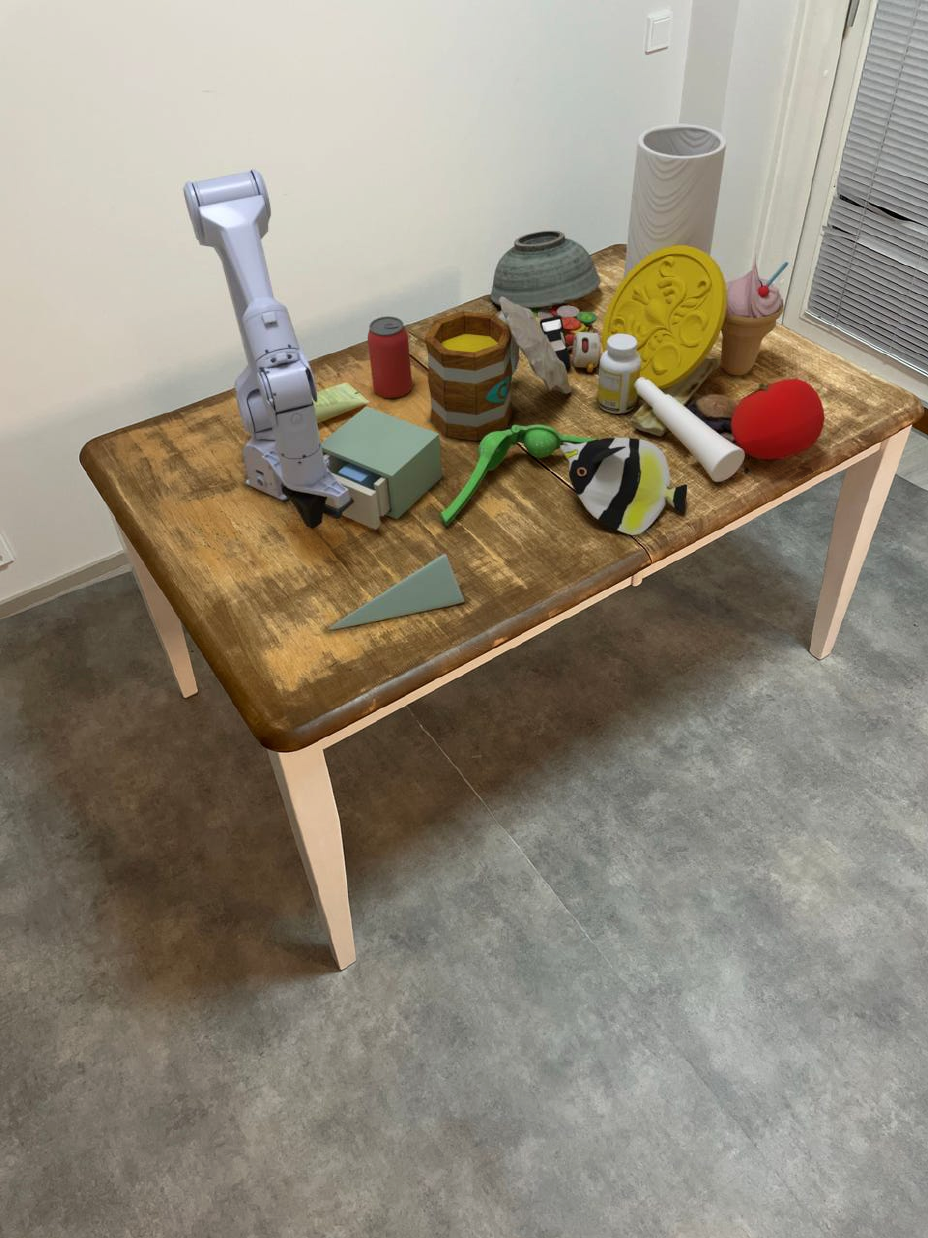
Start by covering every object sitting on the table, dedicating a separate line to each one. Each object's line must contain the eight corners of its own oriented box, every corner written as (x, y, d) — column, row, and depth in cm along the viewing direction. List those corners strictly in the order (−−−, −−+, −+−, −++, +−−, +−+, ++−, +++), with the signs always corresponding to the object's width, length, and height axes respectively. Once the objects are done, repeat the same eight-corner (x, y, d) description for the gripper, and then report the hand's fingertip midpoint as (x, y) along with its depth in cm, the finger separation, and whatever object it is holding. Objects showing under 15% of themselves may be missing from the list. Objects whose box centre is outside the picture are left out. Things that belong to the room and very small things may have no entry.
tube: (260, 453, 156) (361, 412, 164) (267, 443, 151) (371, 401, 160) (243, 421, 155) (346, 382, 164) (250, 410, 151) (355, 370, 159)
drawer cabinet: (396, 519, 141) (391, 476, 136) (325, 488, 147) (317, 445, 141) (442, 477, 148) (439, 433, 142) (371, 448, 153) (366, 405, 147)
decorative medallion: (648, 420, 158) (640, 417, 157) (585, 332, 170) (578, 328, 169) (754, 305, 146) (747, 300, 144) (678, 219, 158) (671, 214, 157)
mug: (480, 451, 152) (477, 367, 141) (413, 422, 157) (406, 340, 147) (550, 392, 162) (553, 309, 151) (485, 367, 168) (483, 286, 157)
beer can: (411, 399, 162) (405, 335, 154) (372, 400, 163) (364, 336, 154) (413, 377, 167) (407, 313, 158) (375, 378, 167) (367, 314, 158)
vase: (657, 292, 183) (678, 115, 160) (716, 321, 175) (747, 139, 152) (603, 319, 177) (617, 139, 154) (662, 350, 169) (685, 166, 146)
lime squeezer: (446, 528, 140) (443, 494, 135) (413, 482, 147) (410, 448, 142) (645, 461, 148) (649, 427, 144) (605, 421, 156) (608, 387, 151)
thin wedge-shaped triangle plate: (352, 665, 122) (471, 593, 125) (326, 622, 123) (444, 552, 126) (353, 672, 130) (465, 605, 133) (329, 633, 131) (440, 566, 134)
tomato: (848, 441, 140) (826, 364, 137) (758, 476, 140) (734, 401, 138) (814, 436, 152) (793, 365, 149) (731, 468, 152) (709, 399, 150)
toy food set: (505, 340, 174) (504, 323, 171) (544, 308, 181) (544, 291, 178) (568, 362, 168) (569, 345, 166) (607, 328, 175) (608, 311, 173)
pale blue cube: (364, 504, 141) (360, 481, 138) (341, 494, 143) (337, 471, 140) (381, 488, 143) (378, 465, 140) (359, 479, 145) (356, 456, 142)
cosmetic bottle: (743, 441, 140) (650, 359, 151) (709, 467, 140) (620, 383, 152) (747, 464, 145) (657, 382, 157) (715, 489, 145) (627, 405, 157)
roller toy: (595, 355, 170) (600, 325, 166) (600, 375, 165) (605, 344, 161) (570, 355, 170) (574, 324, 165) (574, 374, 165) (578, 344, 161)
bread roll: (673, 421, 155) (675, 401, 153) (700, 396, 160) (703, 377, 157) (732, 445, 150) (736, 425, 148) (759, 419, 155) (763, 399, 152)
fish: (576, 400, 134) (559, 498, 130) (709, 433, 136) (697, 531, 132) (554, 438, 146) (538, 529, 142) (677, 468, 148) (664, 559, 144)
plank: (686, 361, 167) (688, 347, 165) (718, 370, 165) (720, 356, 163) (628, 432, 154) (629, 418, 152) (662, 443, 152) (664, 429, 150)
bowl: (511, 220, 189) (518, 271, 195) (463, 258, 175) (473, 312, 181) (612, 216, 180) (616, 270, 186) (570, 255, 166) (576, 312, 172)
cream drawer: (357, 547, 136) (352, 512, 132) (290, 516, 141) (283, 482, 137) (418, 490, 145) (415, 456, 140) (353, 463, 150) (348, 429, 145)
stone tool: (590, 414, 159) (519, 330, 139) (568, 424, 160) (495, 343, 140) (576, 358, 164) (506, 269, 144) (555, 368, 166) (483, 282, 145)
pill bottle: (637, 394, 161) (644, 331, 153) (635, 417, 157) (642, 353, 148) (598, 391, 162) (603, 328, 154) (594, 413, 158) (599, 350, 149)
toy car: (572, 371, 166) (571, 364, 164) (549, 376, 167) (548, 369, 164) (562, 320, 169) (561, 311, 166) (539, 324, 169) (538, 317, 167)
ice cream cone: (767, 352, 168) (791, 240, 153) (770, 388, 161) (796, 274, 146) (703, 349, 169) (721, 238, 155) (703, 384, 162) (722, 271, 147)
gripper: (360, 450, 125) (371, 529, 135) (282, 412, 132) (298, 489, 142) (322, 478, 122) (336, 557, 131) (243, 437, 128) (262, 515, 138)
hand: (314, 524), depth 136 cm, fingers closed
